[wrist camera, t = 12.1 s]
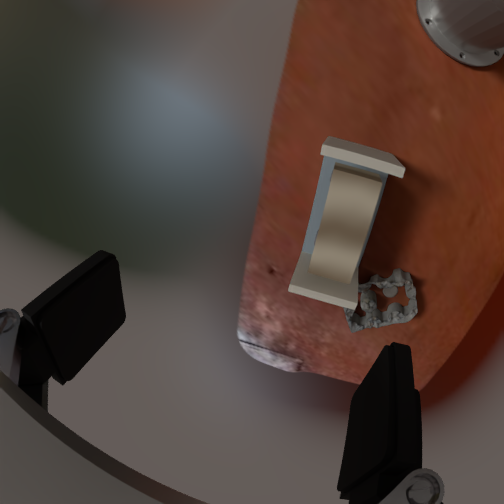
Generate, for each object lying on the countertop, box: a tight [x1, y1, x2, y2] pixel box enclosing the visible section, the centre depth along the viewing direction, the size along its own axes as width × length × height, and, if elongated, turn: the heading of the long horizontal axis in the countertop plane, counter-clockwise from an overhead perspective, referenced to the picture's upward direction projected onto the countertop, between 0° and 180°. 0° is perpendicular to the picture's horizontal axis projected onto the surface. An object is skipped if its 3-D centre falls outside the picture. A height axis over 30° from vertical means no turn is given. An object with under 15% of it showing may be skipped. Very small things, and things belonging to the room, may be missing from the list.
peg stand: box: [288, 136, 405, 310], centre depth 33 cm, size 17×8×9 cm, turn 172°
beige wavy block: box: [307, 162, 382, 284], centre depth 32 cm, size 12×5×4 cm, turn 172°
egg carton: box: [343, 268, 418, 333], centre depth 39 cm, size 11×8×4 cm
